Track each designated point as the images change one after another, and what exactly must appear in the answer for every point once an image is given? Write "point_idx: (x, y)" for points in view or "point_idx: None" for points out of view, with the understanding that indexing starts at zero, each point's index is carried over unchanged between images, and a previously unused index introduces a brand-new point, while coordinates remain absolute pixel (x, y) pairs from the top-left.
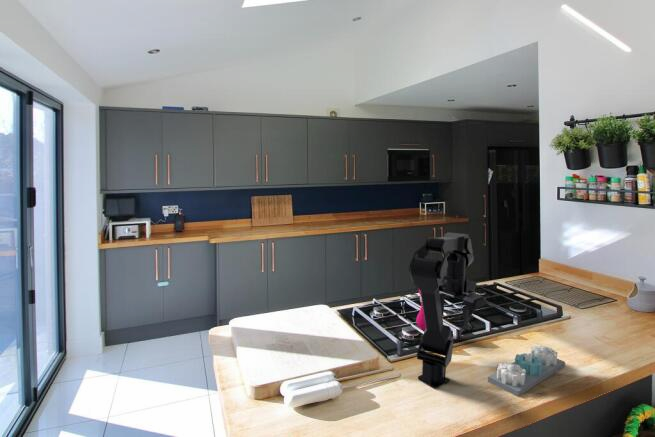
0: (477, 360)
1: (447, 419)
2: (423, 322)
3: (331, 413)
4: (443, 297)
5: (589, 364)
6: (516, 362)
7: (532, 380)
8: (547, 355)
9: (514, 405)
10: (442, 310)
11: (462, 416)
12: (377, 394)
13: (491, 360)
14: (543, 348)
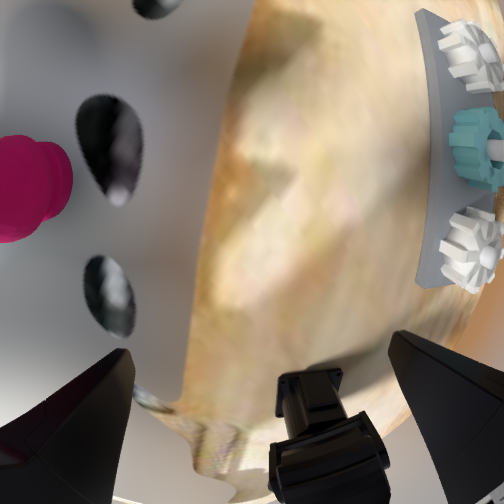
0: (338, 190)
1: (386, 421)
2: (21, 237)
3: (255, 494)
4: (33, 492)
5: (478, 12)
6: (475, 177)
7: (491, 203)
8: (501, 83)
9: (468, 306)
10: (115, 394)
11: (403, 402)
12: (261, 466)
13: (371, 146)
14: (495, 61)
